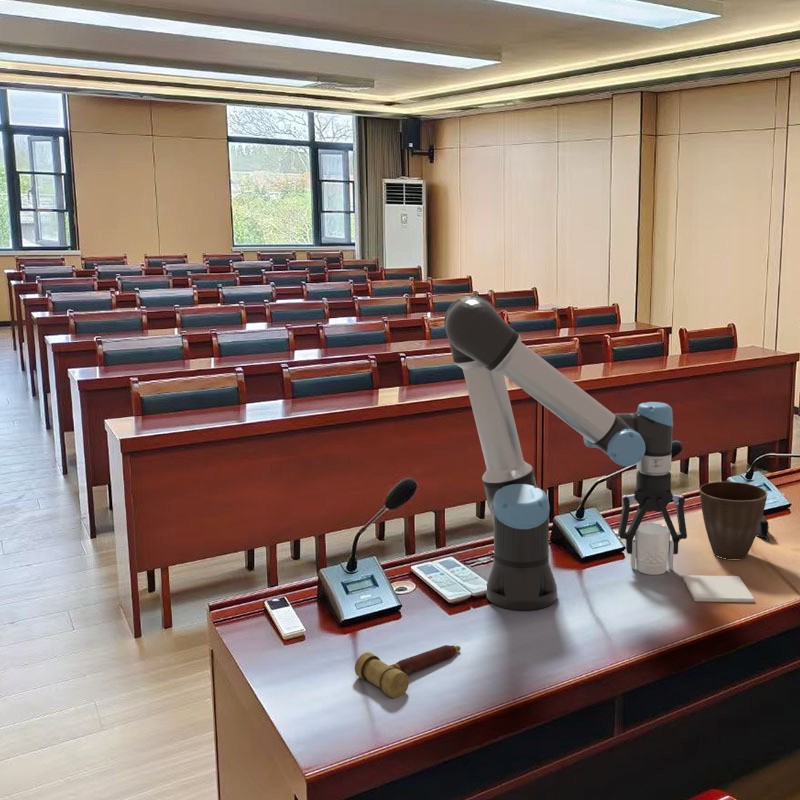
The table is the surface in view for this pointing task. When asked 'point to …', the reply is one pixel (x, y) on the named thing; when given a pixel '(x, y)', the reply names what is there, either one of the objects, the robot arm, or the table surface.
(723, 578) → the tile
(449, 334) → the robot arm
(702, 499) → the plant pot
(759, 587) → the table surface
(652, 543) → the white cup
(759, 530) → the mobile phone
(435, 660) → the gavel
